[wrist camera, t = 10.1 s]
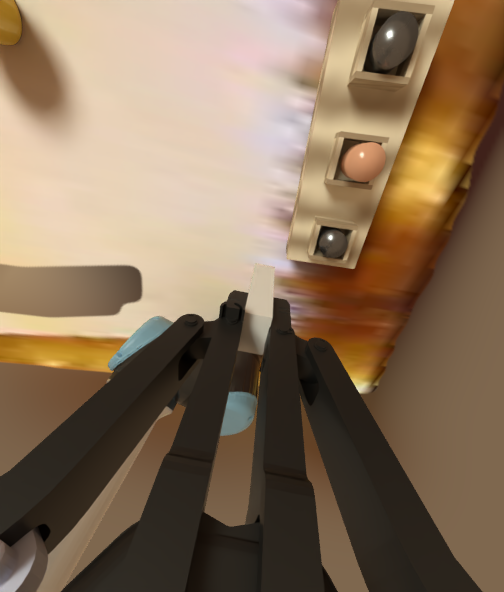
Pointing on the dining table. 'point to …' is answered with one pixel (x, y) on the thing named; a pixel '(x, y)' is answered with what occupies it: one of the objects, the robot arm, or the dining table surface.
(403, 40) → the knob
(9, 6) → the plant pot
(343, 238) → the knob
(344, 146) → the beige long block
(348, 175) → the knob middle
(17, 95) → the dining table surface
